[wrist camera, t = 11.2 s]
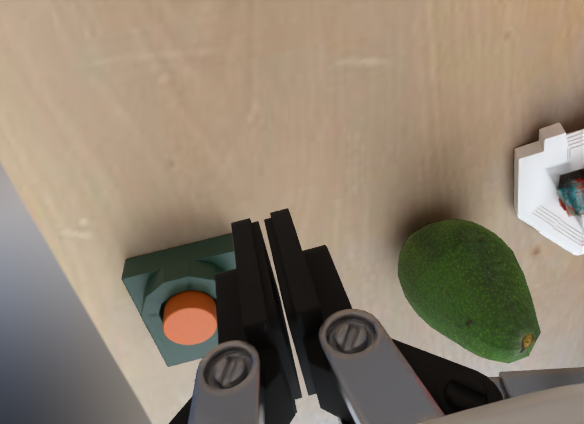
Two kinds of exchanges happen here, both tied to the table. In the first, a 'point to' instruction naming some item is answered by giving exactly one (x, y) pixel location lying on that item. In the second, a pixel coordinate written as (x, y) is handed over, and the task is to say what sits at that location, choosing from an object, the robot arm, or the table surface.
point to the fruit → (469, 289)
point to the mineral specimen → (552, 186)
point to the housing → (177, 287)
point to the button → (190, 317)
